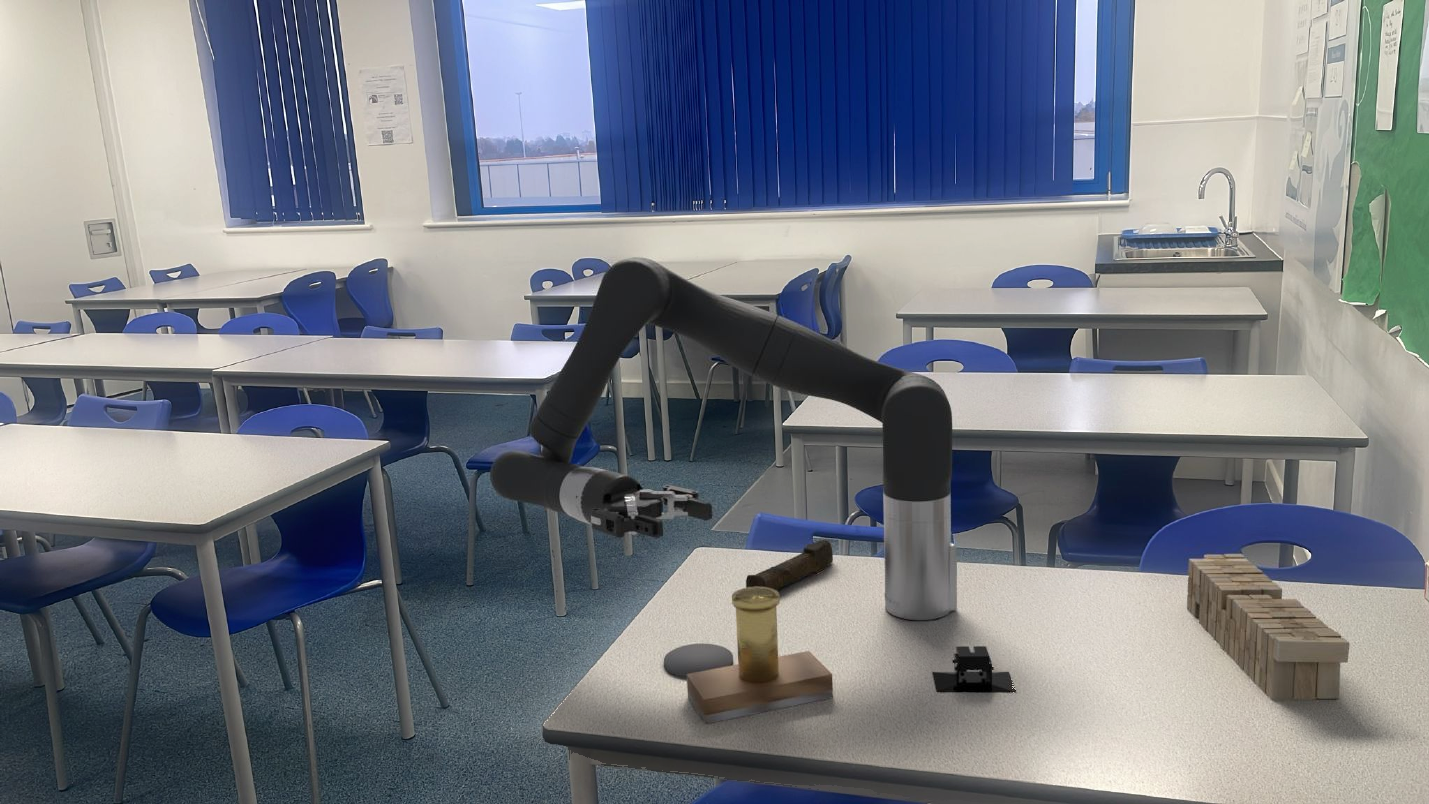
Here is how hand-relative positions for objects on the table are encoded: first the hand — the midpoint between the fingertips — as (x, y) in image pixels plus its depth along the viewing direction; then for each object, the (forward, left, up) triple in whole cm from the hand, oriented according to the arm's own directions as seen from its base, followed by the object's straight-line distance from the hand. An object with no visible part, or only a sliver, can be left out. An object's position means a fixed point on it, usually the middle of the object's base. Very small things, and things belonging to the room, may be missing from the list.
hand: (686, 520), depth 132 cm
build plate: (-30, +16, -21) cm, 40 cm away
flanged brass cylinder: (-5, +10, -17) cm, 20 cm away
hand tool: (-23, -24, -21) cm, 39 cm away
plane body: (-5, +10, -20) cm, 23 cm away
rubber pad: (-1, -2, -20) cm, 20 cm away
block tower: (-67, +23, -21) cm, 74 cm away
